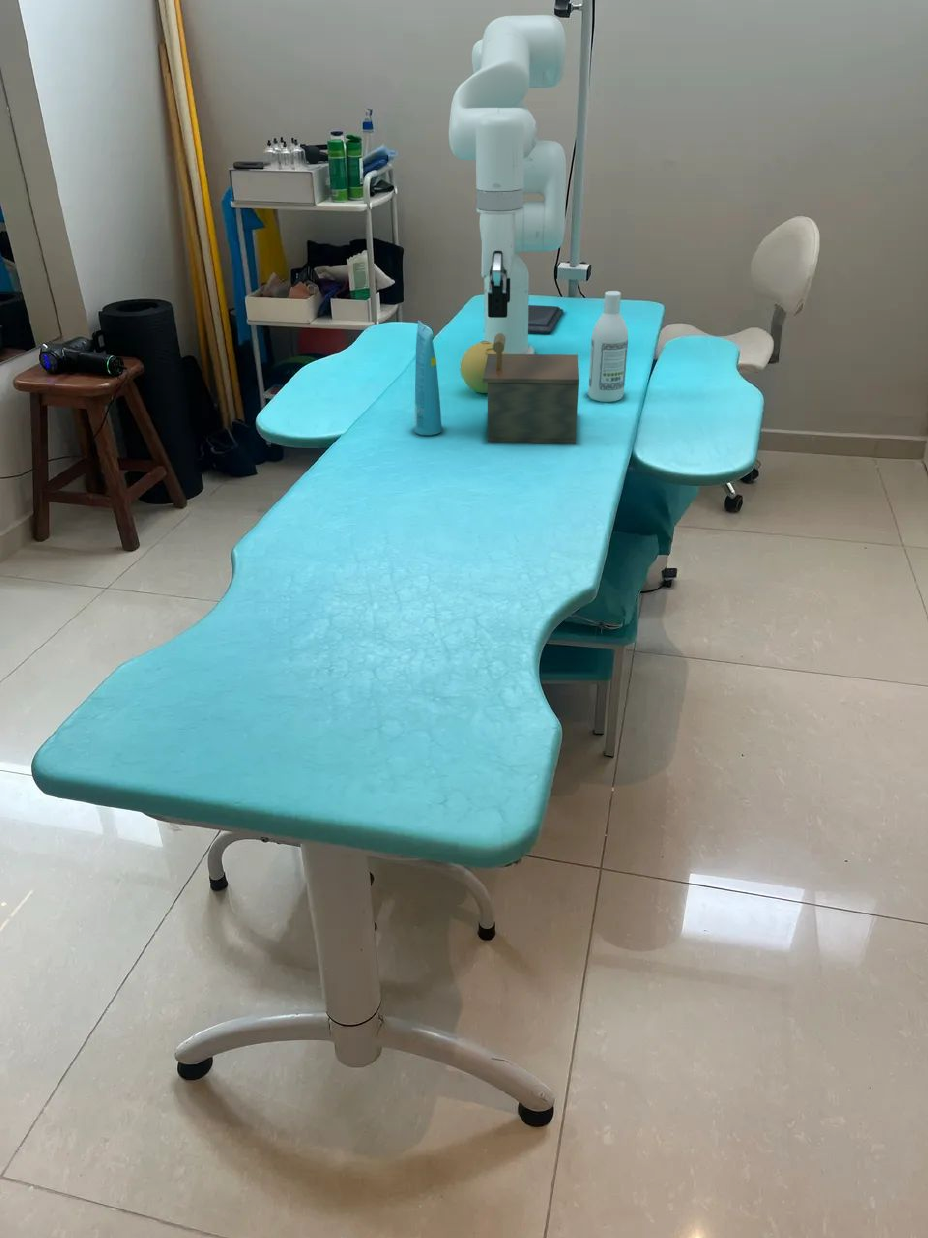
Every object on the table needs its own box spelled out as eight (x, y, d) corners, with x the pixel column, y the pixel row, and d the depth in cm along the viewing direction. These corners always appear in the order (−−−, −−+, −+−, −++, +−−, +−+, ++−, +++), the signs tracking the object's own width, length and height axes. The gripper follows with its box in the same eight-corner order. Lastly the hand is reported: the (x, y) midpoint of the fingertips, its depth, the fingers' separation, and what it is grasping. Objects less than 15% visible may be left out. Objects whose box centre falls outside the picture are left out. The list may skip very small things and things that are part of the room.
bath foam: (630, 396, 181) (639, 292, 170) (606, 405, 177) (614, 299, 166) (605, 387, 185) (612, 285, 174) (580, 396, 182) (586, 292, 171)
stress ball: (483, 404, 179) (483, 353, 174) (451, 391, 185) (449, 342, 180) (520, 391, 185) (521, 342, 179) (487, 379, 191) (487, 331, 185)
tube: (448, 435, 166) (445, 328, 156) (424, 440, 165) (419, 333, 154) (431, 421, 172) (427, 318, 161) (408, 426, 170) (402, 322, 160)
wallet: (549, 326, 215) (487, 322, 219) (549, 334, 216) (487, 330, 220) (566, 304, 231) (507, 300, 235) (565, 311, 232) (507, 308, 236)
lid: (483, 382, 157) (482, 349, 154) (488, 357, 169) (488, 325, 166) (578, 384, 156) (580, 350, 153) (577, 358, 167) (579, 326, 164)
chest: (487, 442, 163) (487, 383, 157) (492, 414, 175) (492, 358, 169) (575, 443, 162) (578, 384, 156) (574, 415, 173) (577, 358, 167)
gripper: (480, 192, 155) (481, 296, 164) (472, 210, 141) (473, 323, 150) (524, 192, 154) (522, 296, 164) (521, 209, 140) (519, 323, 149)
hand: (499, 309), depth 157 cm, fingers open, 9 cm apart
